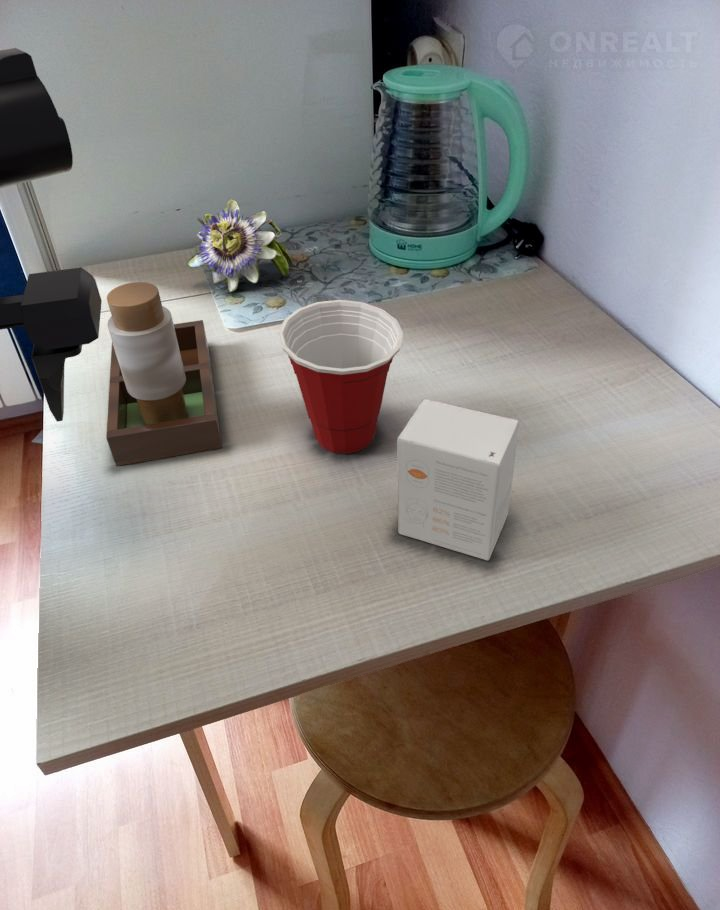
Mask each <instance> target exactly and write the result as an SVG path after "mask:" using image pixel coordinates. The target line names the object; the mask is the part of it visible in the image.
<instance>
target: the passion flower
mask: <svg viewBox="0 0 720 910" xmlns="http://www.w3.org/2000/svg"><path fill="white" fill-rule="evenodd" d="M243 217H244V214H242V215H241V210H240V206H239V204H238V201H236V200H234V199H233V198H231V199H230V200H229V201H227V204H226V206H225V208H224V209H221V210H220V211H219V212H216V214H215V215H213V214H210V213H206V214H204V220H205V221H204V220H203V219H201V217H197V221H198V222H199V224H201V227H202V228H200V229H199V231H197V232H196V234H195V235H196V237H197V239H199V240H200V241H201V243H200V244H199V245H197V246H196V250H197V251H196V253H194V254H193V255H192V256H191V257H190V258H189V259H188V260H187V262H186V265H187V267H188V268H192V269H194V268H195V269H196V268H199V267H203V266H206V268H207V269H209V270H211V279H212V283H213V285H214V286H215V285H219V284H221V283H222V282H225V283H226V285H227V290H228V292H229V293H233V292H236V291H237V289H238V286H239V284H240V278H241V277H242V276H243V277H244V278H246V279H247V281H249V282H250V283H252V284H257V283H258V281H259V280H260V271H259V270H260V269H259V262H260V261H263V260H264V261H266V260H267V261H271V263H272V264H273V265H274V267H276V269H277V270H278V271H279V273H280V274H281V276H283V277H288V276H289V273H290V267H289V265H294V260H293V258H292V256H290V254H289V252H288V251H287V249H286V247H285V246H284V245H283V244H282V243H280V242H278V241H277V240H276V239H275V238H276V235H277V236H279V235H280V234H281V233H282V230H281V229H280V228H279V226H278V225H277V224H276V223H275V222H274V221H273V219H272V218H269V219H267V218H268V213H267V212H266V211H265V210H264V211H259V212H257V213H254V214H252V215H250V216H248V217H247V216H246V217H245V218H244V219H243ZM267 223H268V225H270V226H271V227H272V228H273V229H274V230H275V233H276V234H275V233H274V232H273V231H271V230H263V229H262V228H261V227H262V226H264V225H265V224H267ZM288 263H289V264H288Z"/></svg>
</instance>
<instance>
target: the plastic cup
mask: <svg viewBox="0 0 720 910" xmlns="http://www.w3.org/2000/svg"><path fill="white" fill-rule="evenodd" d="M278 337H279V341H280V345H281V348H282V351H283V353H285V354H286V355H287V358H289V361H290V364H291V367H292V369H293V372H294V374H295V376H296V381H297V383H298V386H299V390H300V393H301V397H302V399H303V403H304V407H305V411H306V413H307V416H308V419H309V421H310V423H311V426H312V430H313V434H314V437H315V439H316V440H317V443H318V445H320V446H321V447H322V448H323V450H325V451H328V452H331V453H334V454H342V455H347V454H354V453H357V452H360V451H362V450H364V449H366V448H368V446H369V445H371V444H372V442H373V440H374V437H375V435H376V431H377V426H378V420H379V416H380V412H381V407H382V404H383V398H384V393H385V388H386V383H387V379H388V373H389V371H390V367H391V364H392V363H393V360H394V357H395V356H396V355H397V354H398V353H399V352H400V350H401V347H402V342H403V339H404V338H403V337H404V332H403V329H402V327H401V326H400V323H399V321H398V319H396V318H395V317H393V316H392V315H391V314H390V313H388V312H387V311H385V310H384V309H383V308H380V307H377V306H375V305H372V304H370V303H366V302H363V301H357V300H356V301H355V300H346V299H334V300H324V301H317V302H314V303H311V304H308V305H305V306H303V307H299V308H297V309H296V310H294V311H293V312H292V313H291V314H290V315H288V316H287V317H286V318H284V319H283V321H282V324H281V325H280V328H279V330H278Z"/></svg>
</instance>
